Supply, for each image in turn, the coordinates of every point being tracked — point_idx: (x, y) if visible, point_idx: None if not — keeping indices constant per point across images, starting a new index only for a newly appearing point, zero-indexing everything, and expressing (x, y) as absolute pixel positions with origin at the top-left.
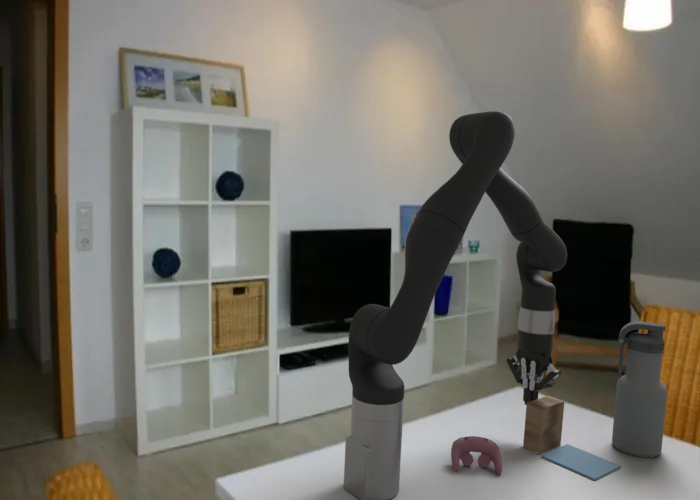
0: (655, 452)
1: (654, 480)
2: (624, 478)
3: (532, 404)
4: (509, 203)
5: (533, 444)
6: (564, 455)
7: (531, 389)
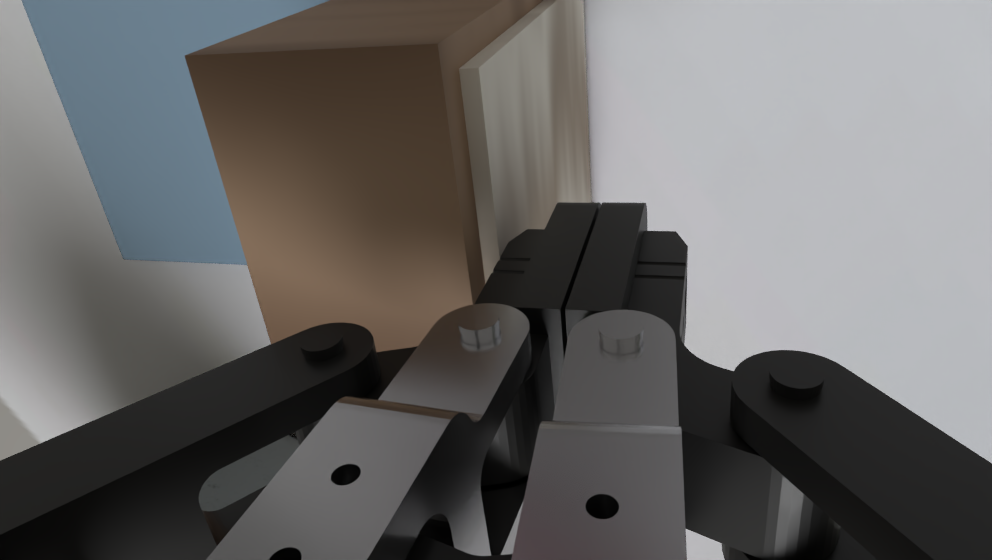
0: None
1: (2, 258)
2: (31, 153)
3: (342, 49)
4: None
5: None
6: None
7: (488, 312)
